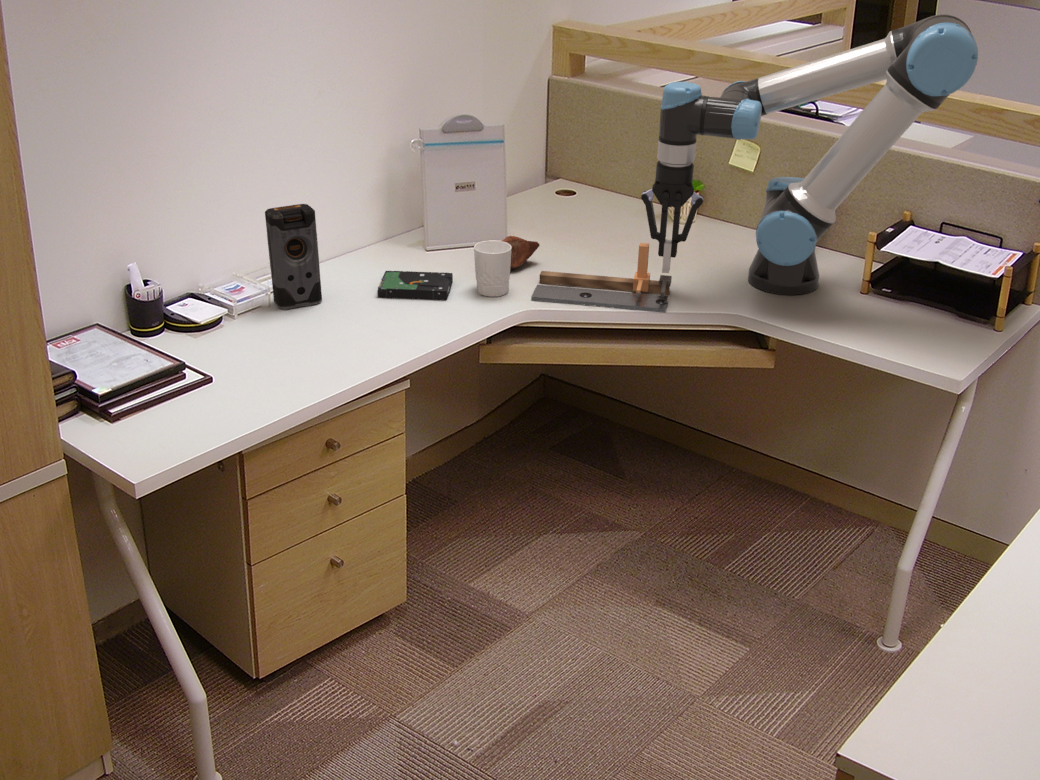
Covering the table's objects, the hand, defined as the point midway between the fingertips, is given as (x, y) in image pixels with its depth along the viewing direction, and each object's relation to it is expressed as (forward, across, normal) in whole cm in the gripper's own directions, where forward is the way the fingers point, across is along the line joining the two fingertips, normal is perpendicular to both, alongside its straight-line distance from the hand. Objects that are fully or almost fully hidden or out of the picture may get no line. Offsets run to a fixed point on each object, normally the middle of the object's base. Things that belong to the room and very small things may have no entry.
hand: (665, 270), depth 229 cm
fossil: (+5, +35, -7) cm, 36 cm away
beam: (+5, +13, +4) cm, 14 cm away
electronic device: (+5, +74, +23) cm, 78 cm away
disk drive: (+6, +52, +11) cm, 53 cm away
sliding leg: (+4, +5, +3) cm, 7 cm away
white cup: (+5, +36, +8) cm, 37 cm away
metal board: (+5, +13, +8) cm, 16 cm away
